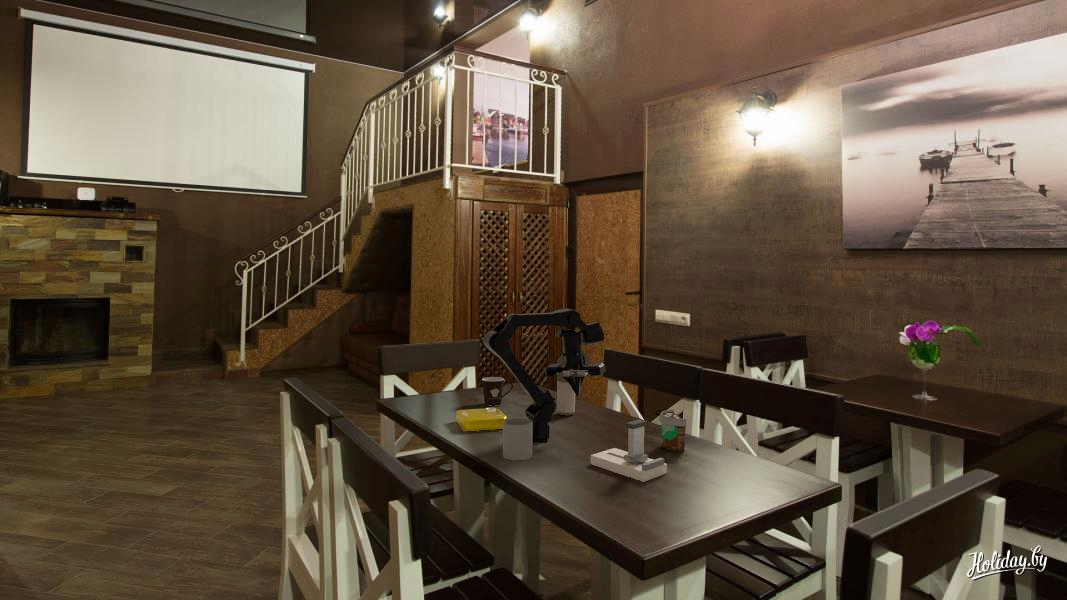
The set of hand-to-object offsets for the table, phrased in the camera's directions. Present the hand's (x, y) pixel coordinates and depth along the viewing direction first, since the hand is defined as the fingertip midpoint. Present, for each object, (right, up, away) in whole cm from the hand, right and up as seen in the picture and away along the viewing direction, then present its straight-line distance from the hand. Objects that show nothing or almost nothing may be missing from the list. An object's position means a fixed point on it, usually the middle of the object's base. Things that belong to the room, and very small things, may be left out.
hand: (578, 395), depth 191 cm
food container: (+27, -14, -11) cm, 32 cm away
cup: (-19, -14, -21) cm, 31 cm away
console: (+11, -15, -31) cm, 36 cm away
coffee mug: (-29, -10, +42) cm, 52 cm away
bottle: (-2, -11, +27) cm, 30 cm away
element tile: (-32, -13, +12) cm, 37 cm away
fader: (+13, -12, -33) cm, 37 cm away
